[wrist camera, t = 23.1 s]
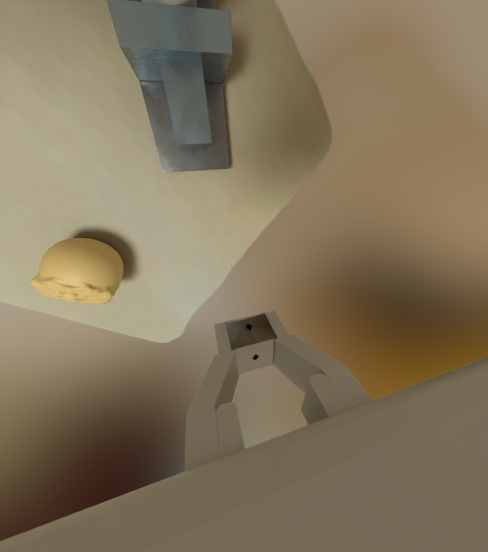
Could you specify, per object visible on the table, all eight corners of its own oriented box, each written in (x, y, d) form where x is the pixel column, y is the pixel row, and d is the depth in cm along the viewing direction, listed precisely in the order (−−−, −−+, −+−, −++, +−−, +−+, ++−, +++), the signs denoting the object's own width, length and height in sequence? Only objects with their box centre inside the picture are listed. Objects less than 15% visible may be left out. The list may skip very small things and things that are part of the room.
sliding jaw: (228, 146, 31) (238, 140, 24) (157, 149, 29) (147, 143, 22) (220, 53, 25) (230, 11, 19) (130, 47, 23) (106, -2, 16)
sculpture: (62, 276, 37) (20, 310, 28) (62, 223, 32) (13, 243, 23) (124, 288, 41) (106, 320, 32) (133, 243, 37) (114, 266, 28)
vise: (228, 168, 34) (239, 167, 26) (165, 172, 32) (155, 172, 24) (207, -56, 22) (217, -197, 13) (101, -74, 19) (34, -257, 11)
